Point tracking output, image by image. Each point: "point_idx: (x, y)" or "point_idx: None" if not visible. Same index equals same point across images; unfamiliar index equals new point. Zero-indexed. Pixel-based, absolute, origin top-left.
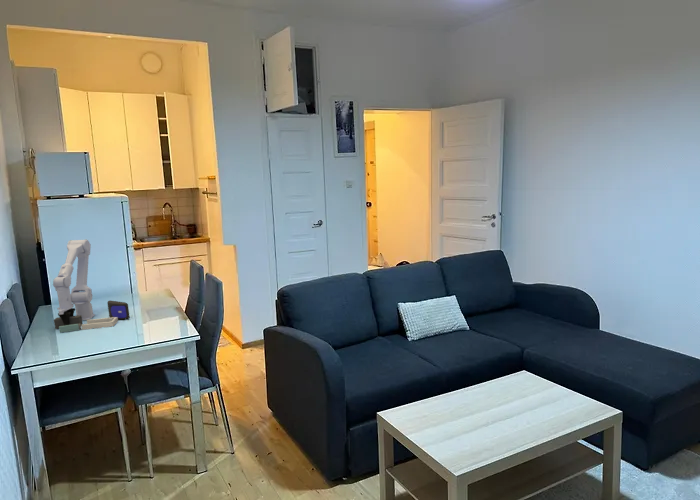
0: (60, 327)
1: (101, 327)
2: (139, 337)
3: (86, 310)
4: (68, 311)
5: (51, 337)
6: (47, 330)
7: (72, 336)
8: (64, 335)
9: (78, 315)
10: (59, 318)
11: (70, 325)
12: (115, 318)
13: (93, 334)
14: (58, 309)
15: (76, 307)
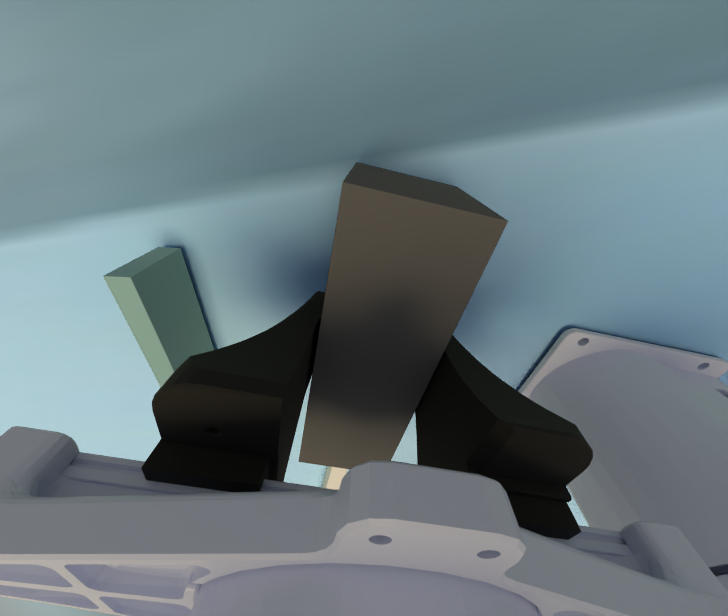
0: (118, 287)
1: None
2: None
3: (573, 496)
4: (444, 466)
5: (8, 175)
6: (367, 34)
7: (50, 351)
8: (81, 294)
9: (388, 458)
10: (386, 280)
11: (156, 376)
12: None
13: (93, 441)
14: (347, 479)
15: (693, 508)
